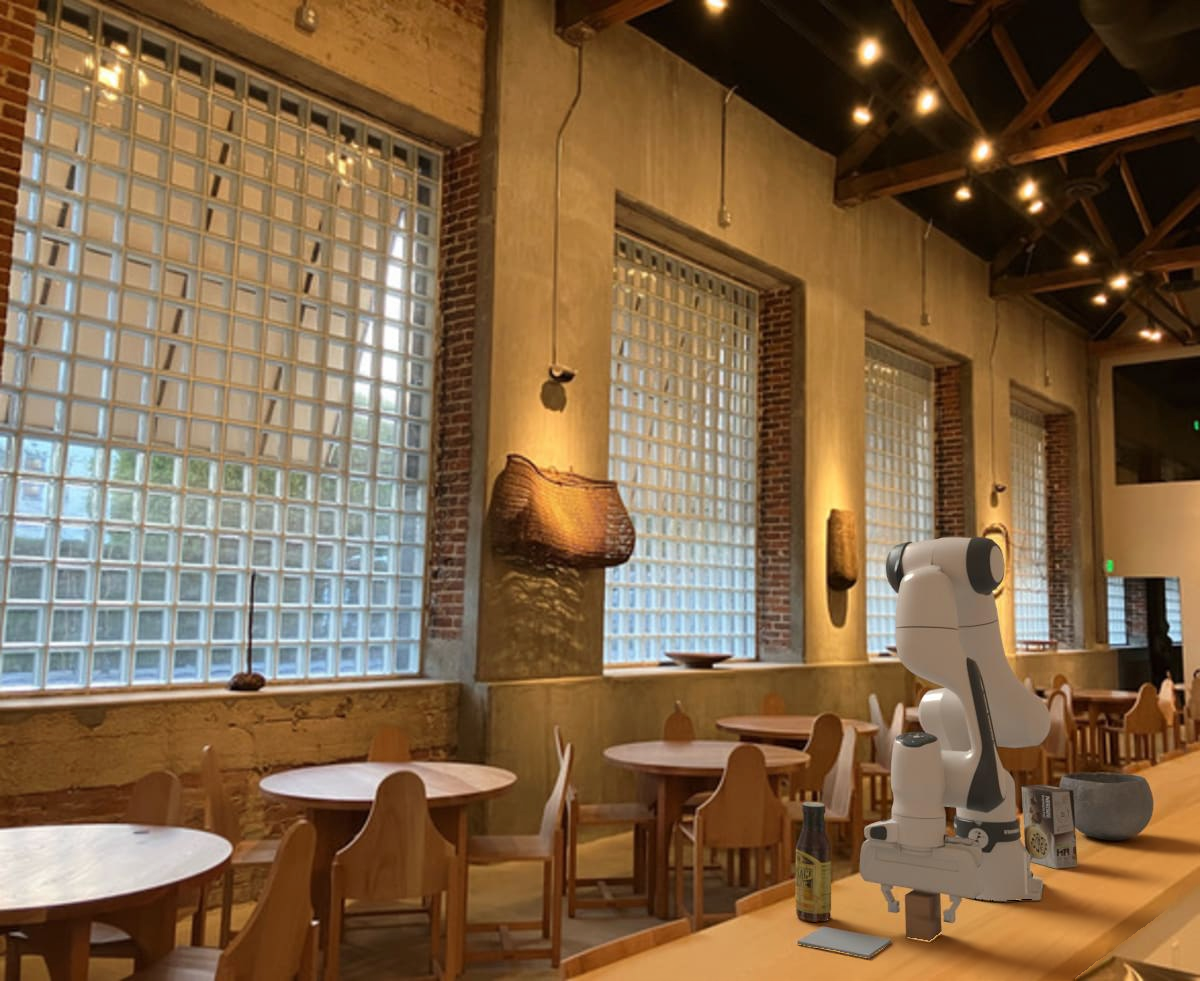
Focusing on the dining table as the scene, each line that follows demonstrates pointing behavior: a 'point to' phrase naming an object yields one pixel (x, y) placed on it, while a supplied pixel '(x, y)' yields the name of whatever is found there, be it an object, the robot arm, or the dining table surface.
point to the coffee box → (1049, 825)
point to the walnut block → (922, 914)
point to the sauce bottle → (813, 866)
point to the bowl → (1110, 804)
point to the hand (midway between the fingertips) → (921, 916)
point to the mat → (845, 941)
